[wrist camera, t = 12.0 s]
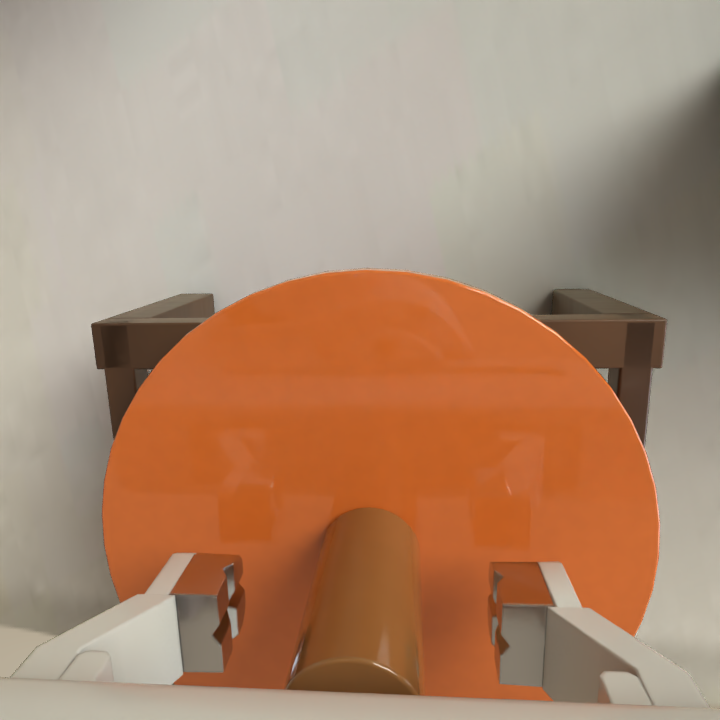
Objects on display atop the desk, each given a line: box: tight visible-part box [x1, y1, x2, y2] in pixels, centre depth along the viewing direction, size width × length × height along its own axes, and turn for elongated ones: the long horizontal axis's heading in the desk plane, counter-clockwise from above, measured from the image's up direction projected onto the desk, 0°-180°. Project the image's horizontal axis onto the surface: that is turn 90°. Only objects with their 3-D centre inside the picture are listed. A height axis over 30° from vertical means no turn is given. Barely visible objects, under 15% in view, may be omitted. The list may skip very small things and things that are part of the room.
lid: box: [102, 268, 660, 701], centre depth 12 cm, size 14×14×6 cm
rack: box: [91, 289, 667, 685], centre depth 18 cm, size 14×11×6 cm
